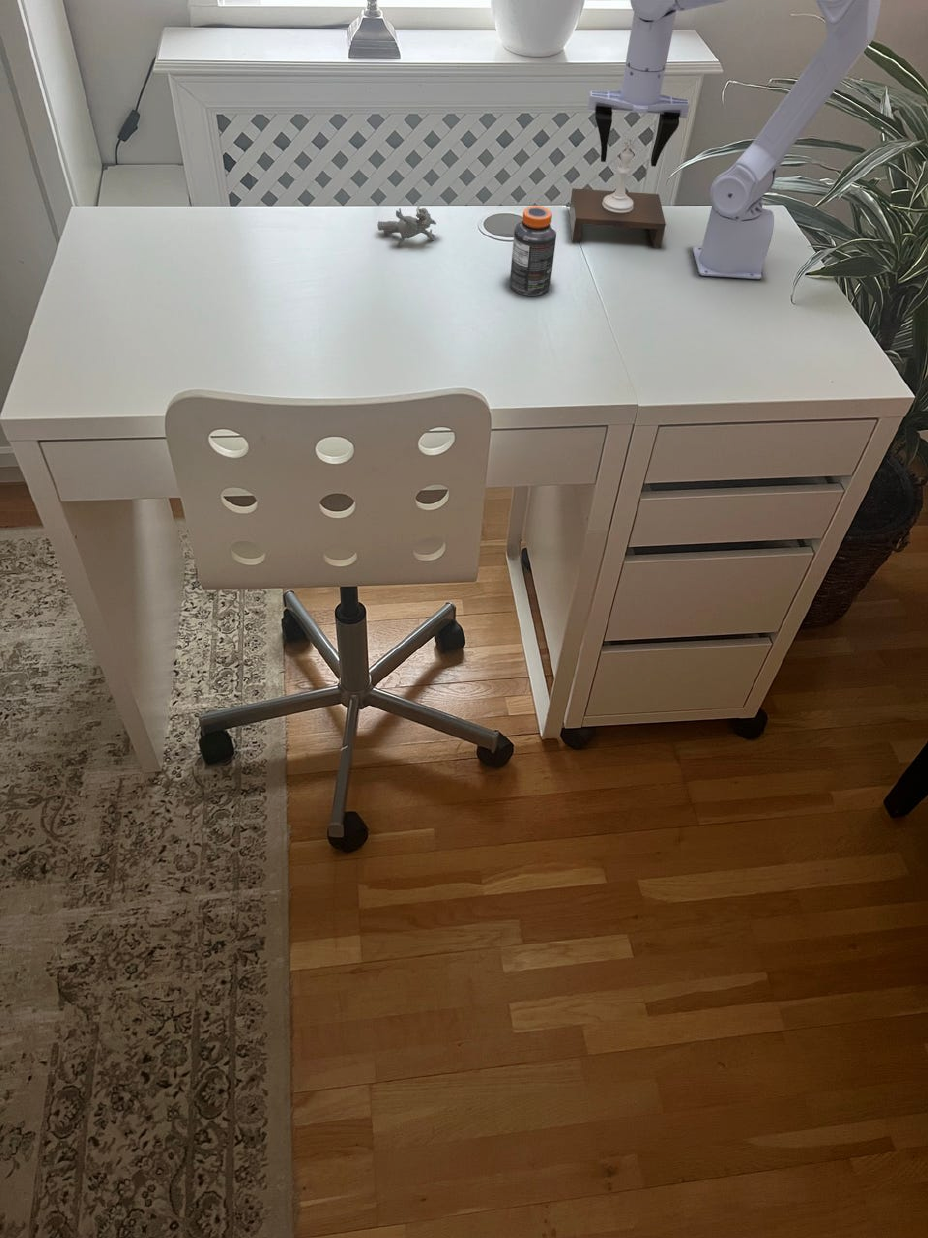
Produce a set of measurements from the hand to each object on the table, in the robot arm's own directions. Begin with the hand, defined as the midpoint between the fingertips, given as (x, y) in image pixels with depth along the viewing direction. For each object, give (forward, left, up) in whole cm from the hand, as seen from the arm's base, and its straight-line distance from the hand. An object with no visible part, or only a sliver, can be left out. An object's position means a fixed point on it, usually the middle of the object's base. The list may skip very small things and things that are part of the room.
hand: (628, 161), depth 148 cm
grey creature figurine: (+33, +10, -11) cm, 37 cm away
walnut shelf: (0, +1, -10) cm, 10 cm away
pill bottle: (+14, +20, -11) cm, 27 cm away
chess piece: (+1, +1, -7) cm, 7 cm away
